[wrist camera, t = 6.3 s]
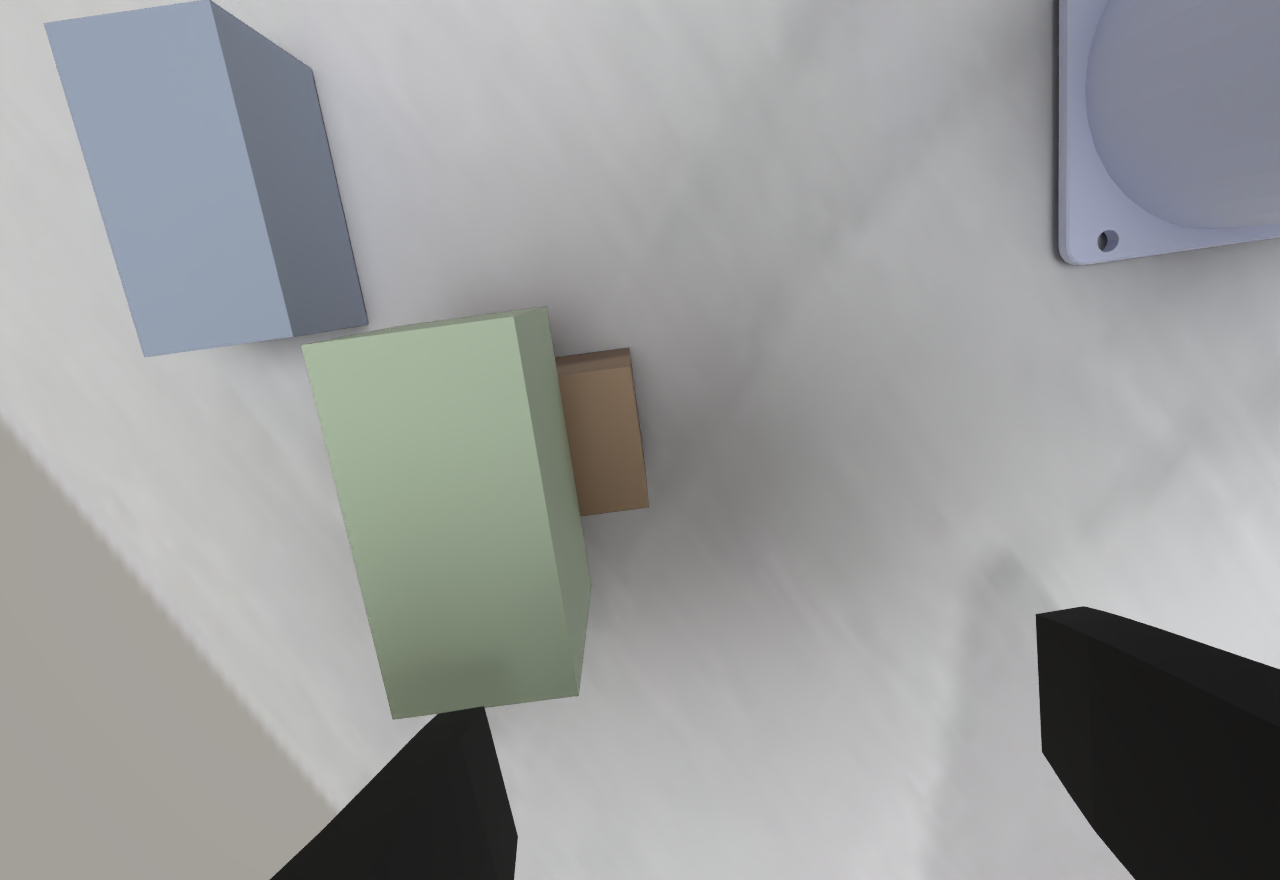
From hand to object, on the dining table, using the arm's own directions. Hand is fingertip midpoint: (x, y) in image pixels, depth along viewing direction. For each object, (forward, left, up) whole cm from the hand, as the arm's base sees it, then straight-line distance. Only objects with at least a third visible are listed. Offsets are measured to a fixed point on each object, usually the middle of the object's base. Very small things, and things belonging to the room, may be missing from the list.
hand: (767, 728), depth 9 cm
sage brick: (+4, -3, -6) cm, 8 cm away
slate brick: (+9, -9, -10) cm, 16 cm away
